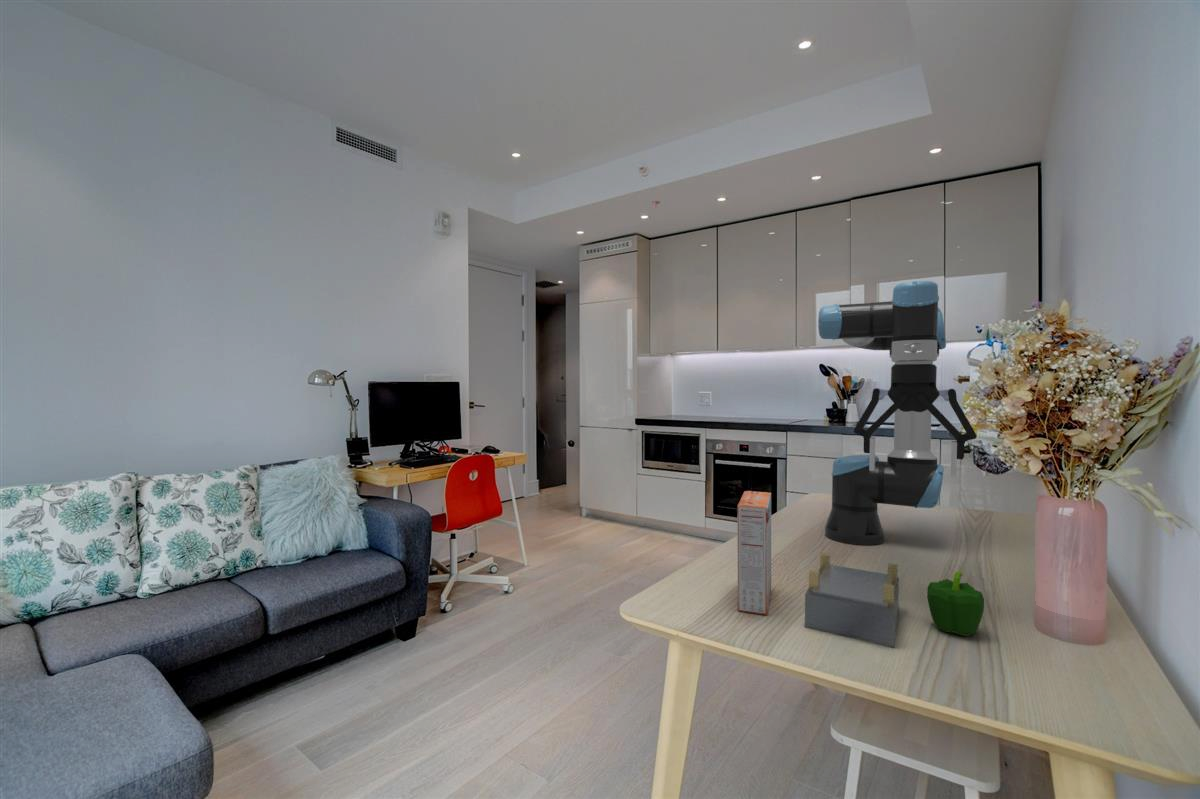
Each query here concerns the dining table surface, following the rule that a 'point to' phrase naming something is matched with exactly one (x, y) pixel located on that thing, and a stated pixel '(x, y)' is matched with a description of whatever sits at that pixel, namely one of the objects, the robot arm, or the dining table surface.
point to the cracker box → (754, 552)
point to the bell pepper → (955, 606)
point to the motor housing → (853, 602)
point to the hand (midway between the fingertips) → (911, 473)
